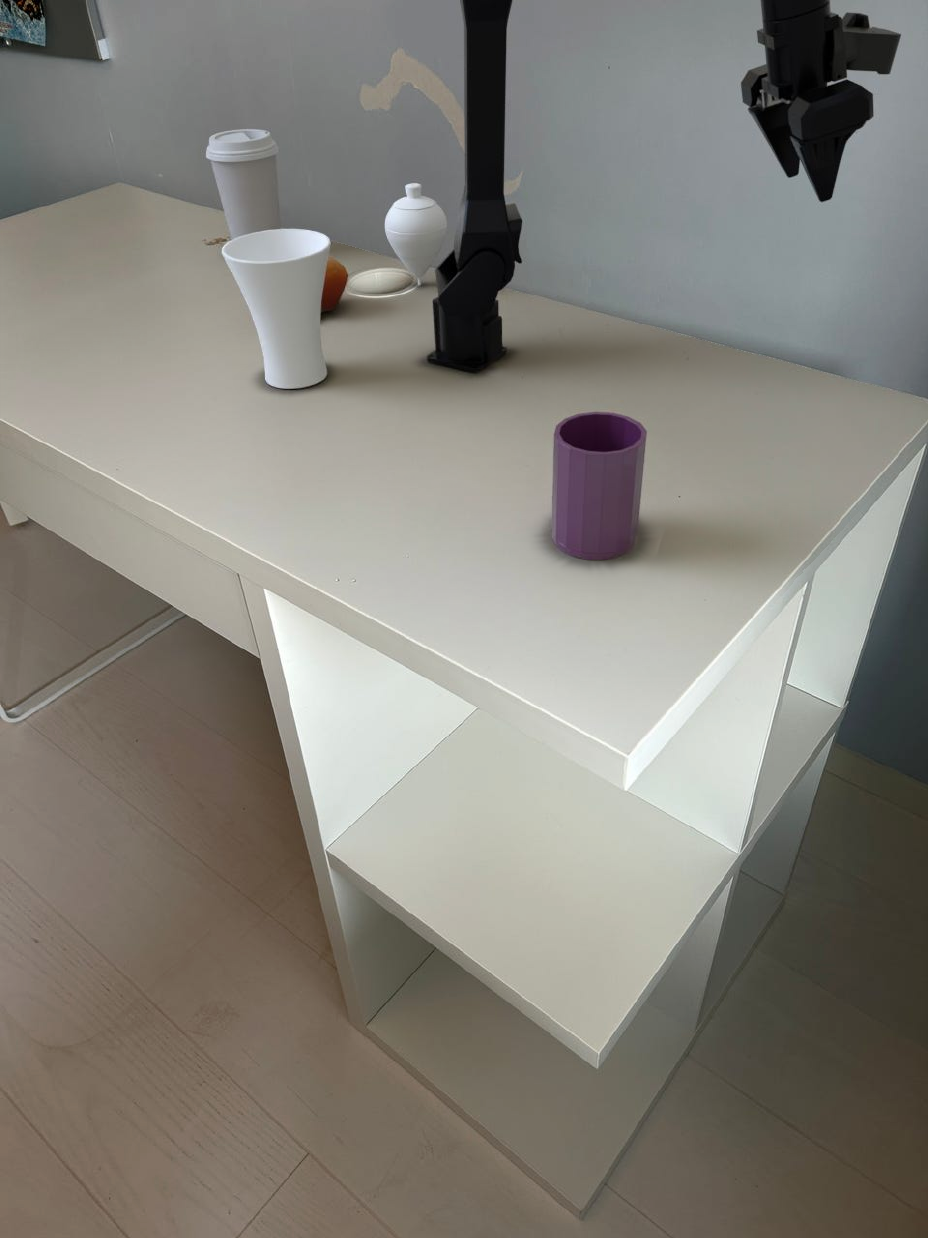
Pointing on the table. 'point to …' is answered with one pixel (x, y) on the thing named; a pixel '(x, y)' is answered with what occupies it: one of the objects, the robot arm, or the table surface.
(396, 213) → the spinning top
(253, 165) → the coffee cup
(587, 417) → the tumbler
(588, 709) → the table surface
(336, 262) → the fruit
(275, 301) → the cup
